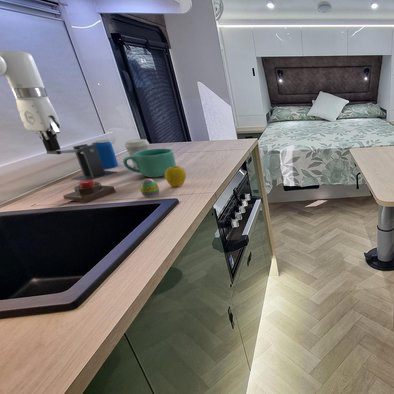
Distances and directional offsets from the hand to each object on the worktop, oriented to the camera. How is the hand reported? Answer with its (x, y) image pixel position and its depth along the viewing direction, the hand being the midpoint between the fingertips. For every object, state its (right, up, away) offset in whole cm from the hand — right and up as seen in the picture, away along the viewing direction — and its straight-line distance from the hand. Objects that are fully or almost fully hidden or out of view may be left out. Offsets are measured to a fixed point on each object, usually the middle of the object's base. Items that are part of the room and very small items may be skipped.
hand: (53, 150), depth 100 cm
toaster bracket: (+3, -9, +14) cm, 16 cm away
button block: (+18, -16, -5) cm, 25 cm away
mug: (+25, -8, +15) cm, 30 cm away
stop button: (+18, -13, -7) cm, 23 cm away
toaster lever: (+1, -1, +5) cm, 6 cm away
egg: (+38, -16, -5) cm, 41 cm away
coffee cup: (+13, -4, +25) cm, 29 cm away
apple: (+41, -13, +3) cm, 43 cm away
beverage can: (-2, -4, +25) cm, 26 cm away
